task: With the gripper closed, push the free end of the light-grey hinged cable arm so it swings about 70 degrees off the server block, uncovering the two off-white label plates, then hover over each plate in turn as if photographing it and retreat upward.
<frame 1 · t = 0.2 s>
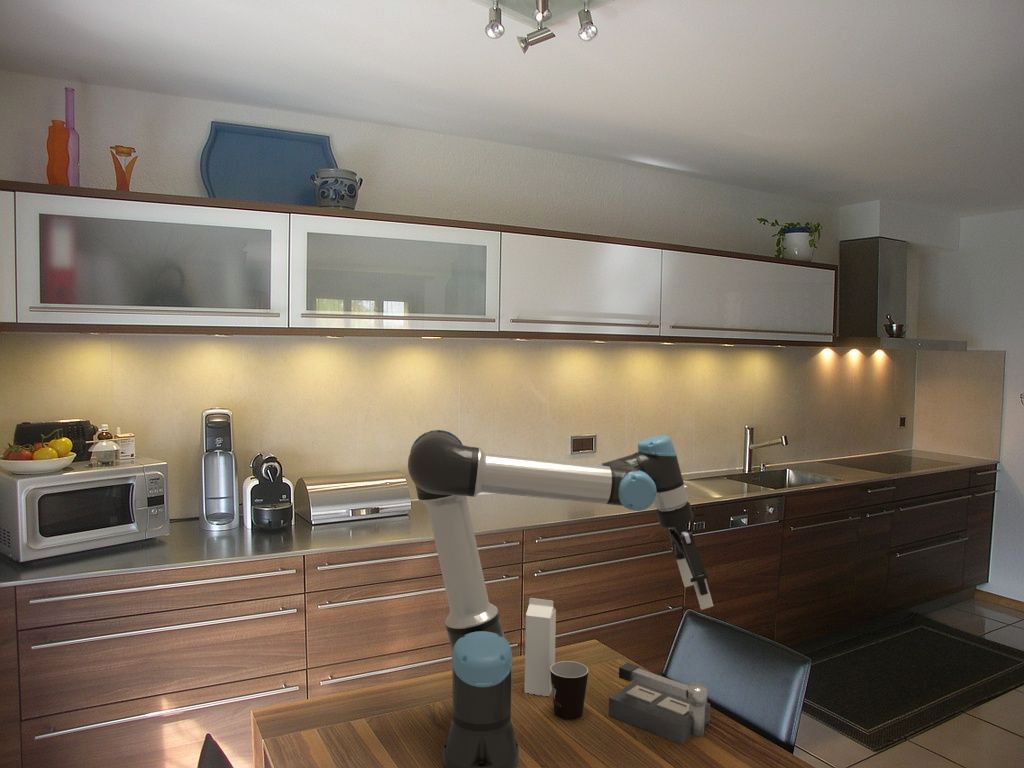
hand: (698, 595, 159), 27 cm above the table, tool tilted 20°, fingers open, 13 cm apart
milk: (539, 690, 172), on the table
server block: (658, 718, 159), on the table
coffee mug: (569, 710, 163), on the table
cable arm: (662, 682, 158), point 8 cm above the table, hinge at 0.0°
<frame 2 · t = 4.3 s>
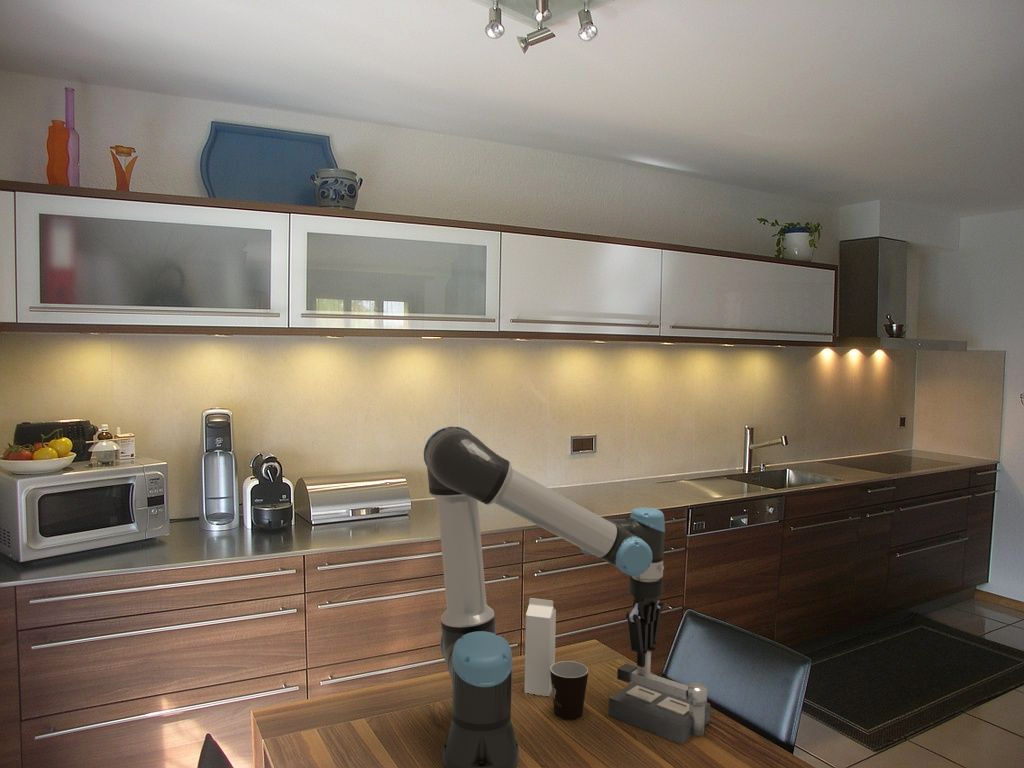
hand: (643, 678, 164), 7 cm above the table, tool pointing down, fingers closed
cable arm: (662, 682, 158), point 8 cm above the table, hinge at 2.5°, touching gripper
everything else where it was.
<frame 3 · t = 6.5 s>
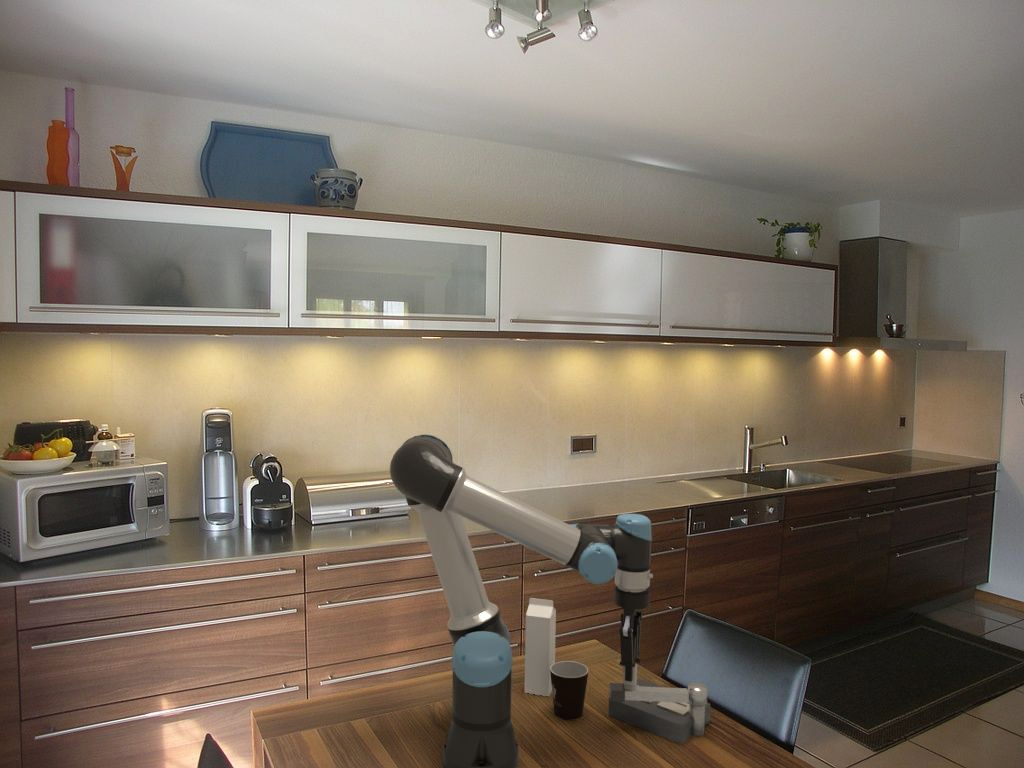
hand: (629, 693, 156), 7 cm above the table, tool pointing down, fingers closed
cable arm: (658, 692, 154), point 8 cm above the table, hinge at 37.4°, touching gripper
everything else where it was.
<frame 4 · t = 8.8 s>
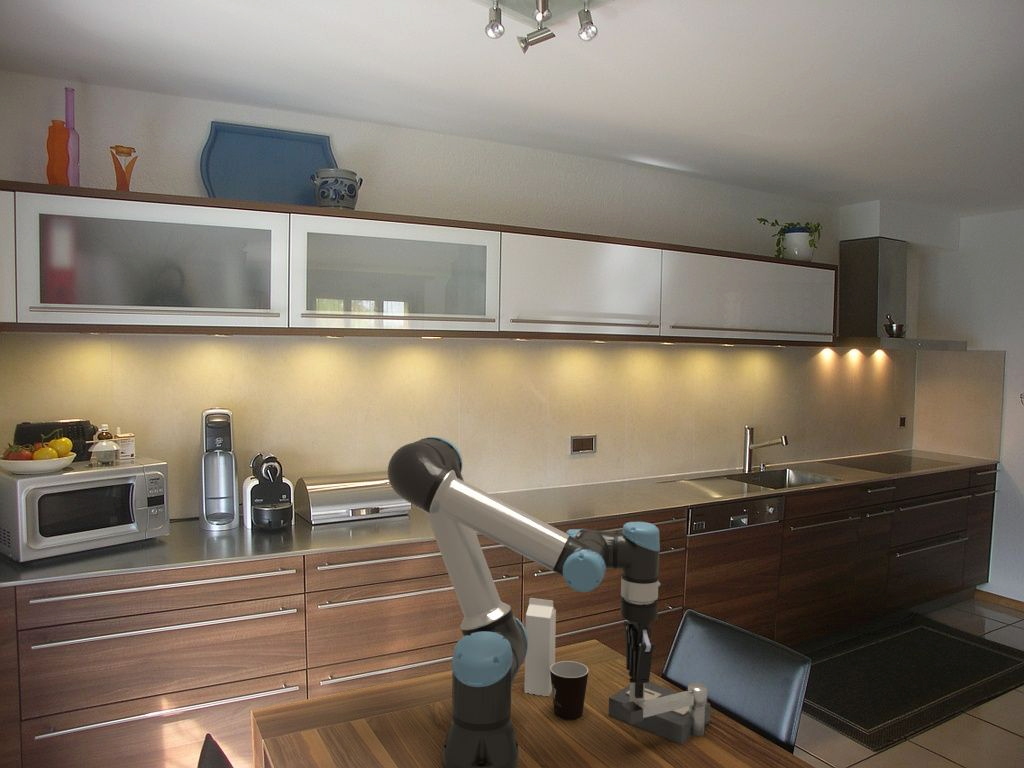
hand: (636, 710, 149), 7 cm above the table, tool pointing down, fingers closed
cable arm: (666, 701, 149), point 8 cm above the table, hinge at 67.3°, touching gripper
everything else where it was.
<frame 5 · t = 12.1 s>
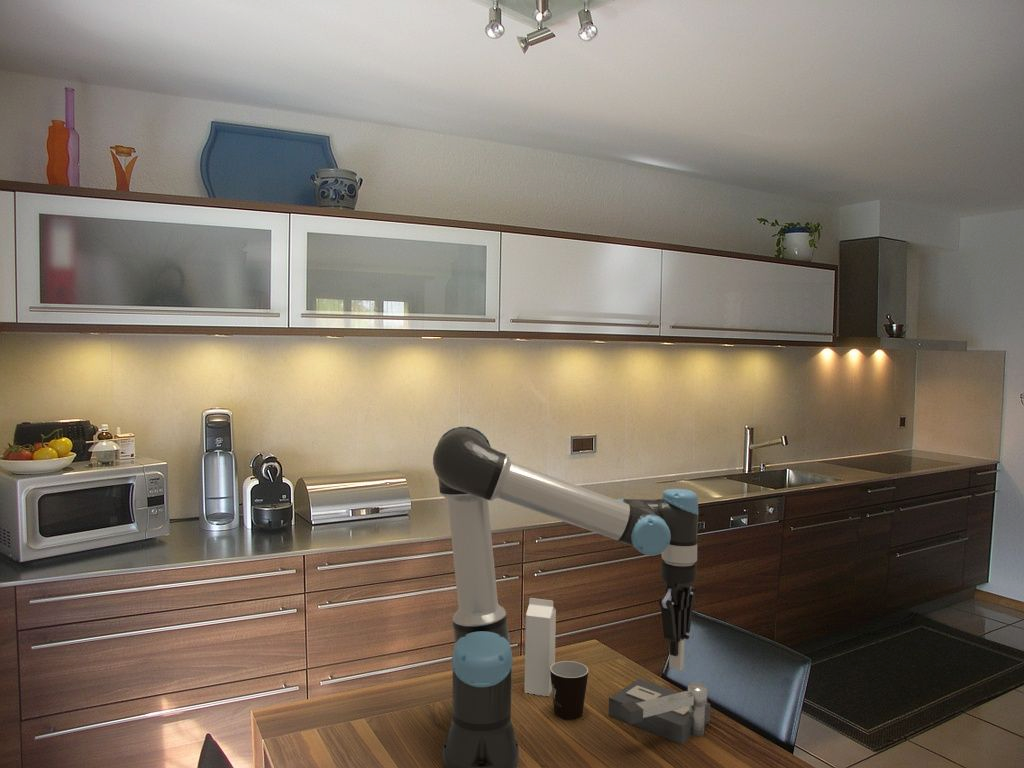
hand: (676, 668, 156), 12 cm above the table, tool pointing down, fingers closed
cable arm: (666, 701, 149), point 8 cm above the table, hinge at 67.3°
everything else where it was.
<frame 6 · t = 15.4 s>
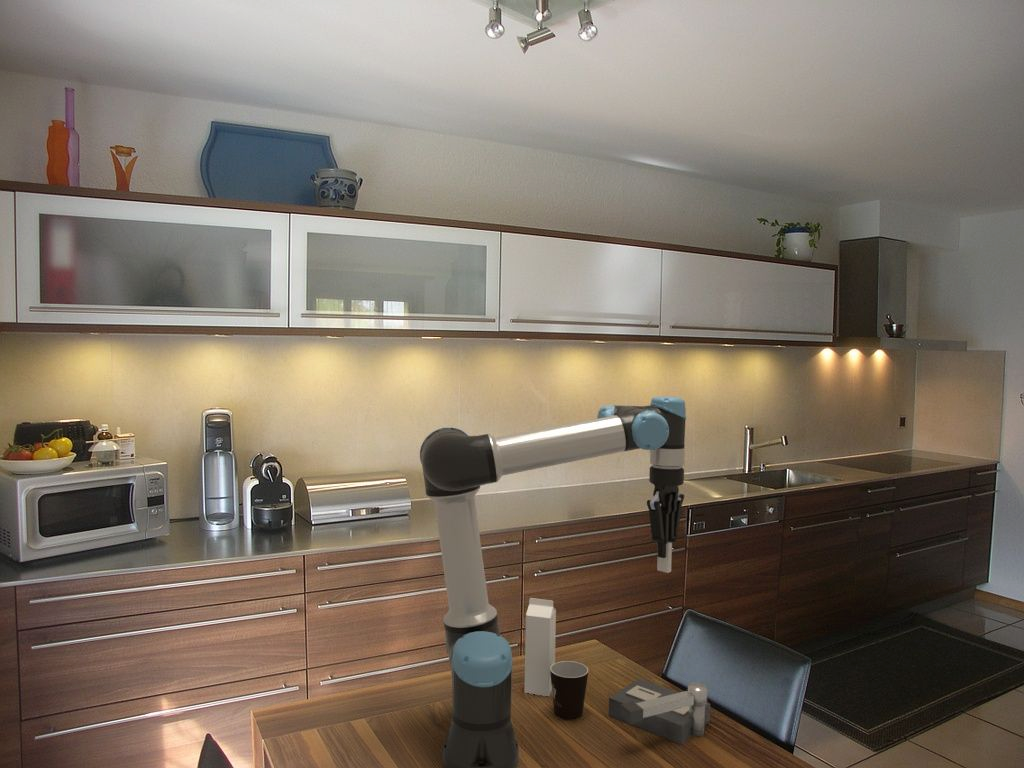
hand: (664, 570, 161), 32 cm above the table, tool pointing down, fingers closed
nothing on the table moved.
at the end: cable arm at +67° (first picture: +0°) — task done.
